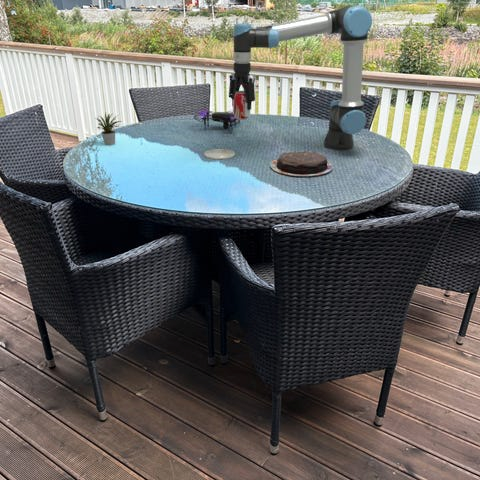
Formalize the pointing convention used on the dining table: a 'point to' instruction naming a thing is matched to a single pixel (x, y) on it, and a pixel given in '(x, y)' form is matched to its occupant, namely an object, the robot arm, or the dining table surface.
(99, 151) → the dining table surface
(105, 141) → the house plant
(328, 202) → the dining table surface
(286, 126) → the dining table surface
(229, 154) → the coaster
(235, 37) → the robot arm
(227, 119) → the drone
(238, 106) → the soda can
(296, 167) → the chocolate cake
